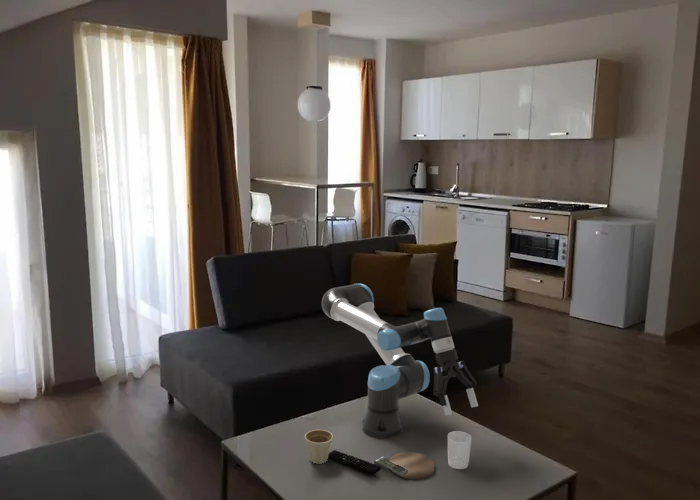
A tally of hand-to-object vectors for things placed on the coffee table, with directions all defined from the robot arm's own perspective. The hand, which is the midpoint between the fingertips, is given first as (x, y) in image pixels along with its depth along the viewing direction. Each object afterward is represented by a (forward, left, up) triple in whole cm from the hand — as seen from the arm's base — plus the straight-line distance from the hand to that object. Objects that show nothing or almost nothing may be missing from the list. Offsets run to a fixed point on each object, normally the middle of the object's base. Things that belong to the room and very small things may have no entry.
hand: (462, 410), depth 209 cm
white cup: (+7, -8, -15) cm, 18 cm away
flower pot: (-23, -44, -15) cm, 52 cm away
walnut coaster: (-1, -22, -14) cm, 27 cm away
